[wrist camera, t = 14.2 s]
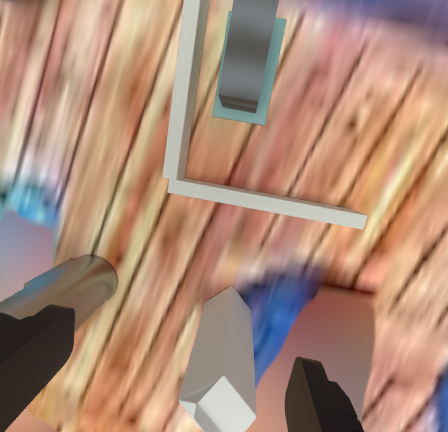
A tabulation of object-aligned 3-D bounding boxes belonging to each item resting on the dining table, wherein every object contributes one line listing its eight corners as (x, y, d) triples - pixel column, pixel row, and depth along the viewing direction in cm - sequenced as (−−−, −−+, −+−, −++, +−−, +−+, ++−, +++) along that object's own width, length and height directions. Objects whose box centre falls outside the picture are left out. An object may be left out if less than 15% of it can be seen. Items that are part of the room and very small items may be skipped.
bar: (237, 24, 34) (235, -11, 28) (272, 30, 34) (279, -3, 27) (222, 107, 37) (218, 94, 30) (255, 113, 37) (258, 101, 30)
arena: (170, 188, 40) (160, 191, 35) (198, -27, 34) (191, -60, 29) (348, 221, 39) (363, 229, 34) (412, 5, 33) (442, -23, 28)
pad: (212, 116, 37) (212, 116, 37) (229, 11, 34) (229, 10, 34) (264, 125, 37) (264, 125, 37) (285, 20, 34) (286, 19, 34)
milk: (232, 284, 43) (221, 403, 21) (251, 311, 44) (260, 451, 22) (204, 302, 44) (167, 432, 22) (224, 327, 45) (206, 477, 23)
